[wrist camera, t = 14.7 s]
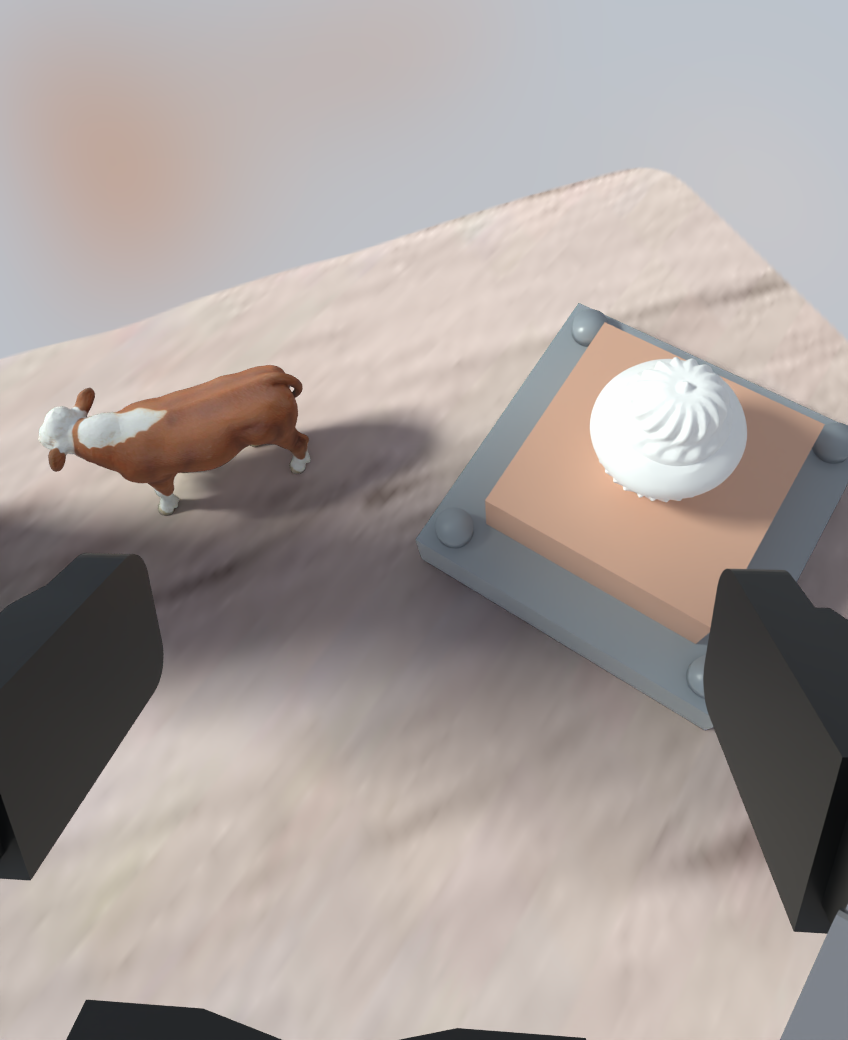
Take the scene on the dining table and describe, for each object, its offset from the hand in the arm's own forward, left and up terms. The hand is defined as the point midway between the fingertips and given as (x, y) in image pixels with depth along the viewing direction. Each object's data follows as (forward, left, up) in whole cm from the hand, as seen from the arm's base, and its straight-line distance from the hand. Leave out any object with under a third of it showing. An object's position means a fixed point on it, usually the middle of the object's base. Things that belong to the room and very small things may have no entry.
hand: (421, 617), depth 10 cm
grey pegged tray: (0, +15, -27) cm, 31 cm away
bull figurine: (-21, +5, -27) cm, 34 cm away
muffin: (0, +14, -21) cm, 26 cm away
